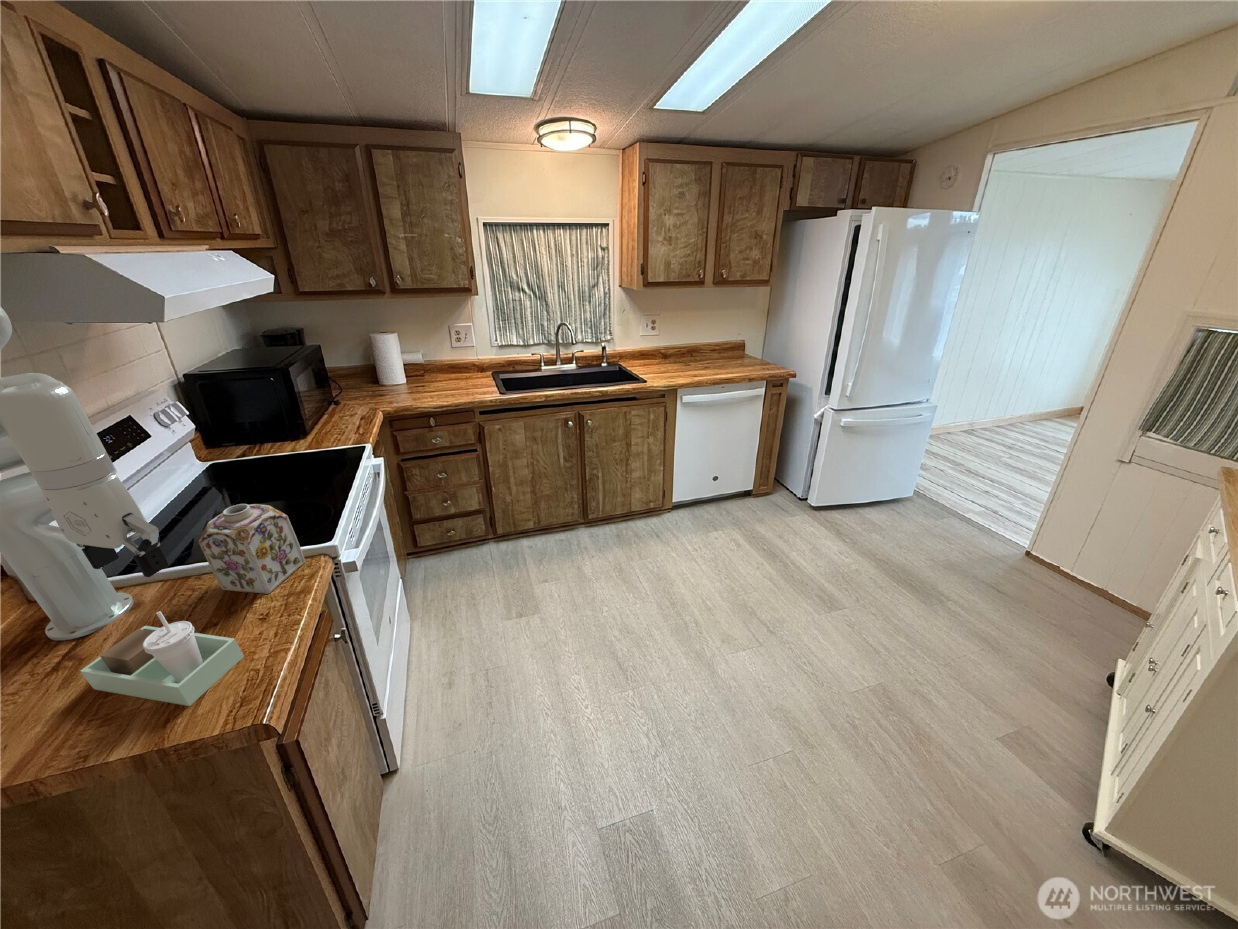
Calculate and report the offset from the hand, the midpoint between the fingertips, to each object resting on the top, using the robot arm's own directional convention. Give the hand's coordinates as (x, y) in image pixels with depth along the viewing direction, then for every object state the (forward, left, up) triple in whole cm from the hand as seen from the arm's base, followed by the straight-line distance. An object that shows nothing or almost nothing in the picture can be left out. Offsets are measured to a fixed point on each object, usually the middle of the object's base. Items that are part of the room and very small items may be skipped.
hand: (131, 567), depth 75 cm
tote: (-3, -2, -23) cm, 23 cm away
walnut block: (-7, -2, -22) cm, 24 cm away
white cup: (+2, -1, -23) cm, 23 cm away
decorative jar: (-9, +24, -23) cm, 35 cm away
